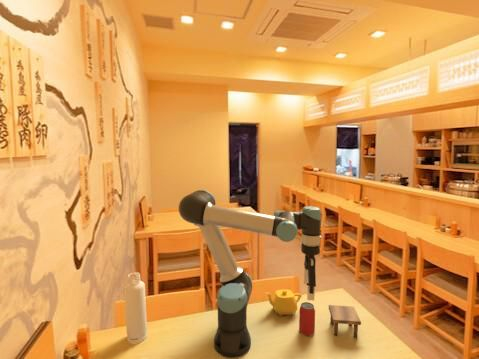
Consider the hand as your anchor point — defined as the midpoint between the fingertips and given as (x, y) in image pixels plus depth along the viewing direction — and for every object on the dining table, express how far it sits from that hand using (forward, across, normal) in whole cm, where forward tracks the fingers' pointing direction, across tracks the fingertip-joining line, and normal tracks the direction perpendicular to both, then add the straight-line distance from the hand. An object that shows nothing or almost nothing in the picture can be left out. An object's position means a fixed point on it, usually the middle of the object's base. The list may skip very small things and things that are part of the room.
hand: (308, 291), depth 119 cm
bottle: (+20, -13, +72) cm, 76 cm away
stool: (+18, +3, -16) cm, 24 cm away
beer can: (+19, 0, 0) cm, 19 cm away
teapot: (+19, +14, +10) cm, 26 cm away
